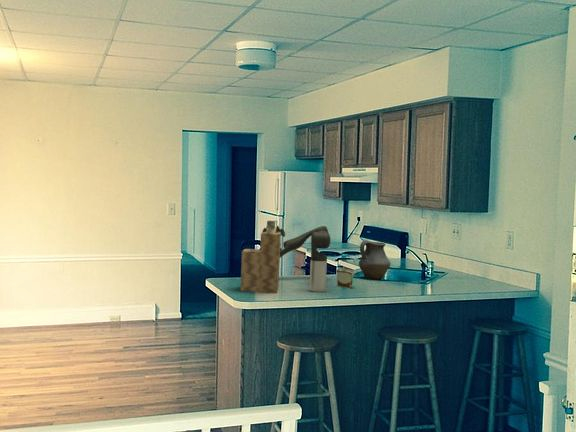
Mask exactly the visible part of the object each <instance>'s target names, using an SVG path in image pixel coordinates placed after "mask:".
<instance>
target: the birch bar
mask: <svg viewBox="0 0 576 432" xmlns="http://www.w3.org/2000/svg"><path fill="white" fill-rule="evenodd" d="M266 226H267V234H275V233H276V232H277V226H278V225H276V220H267V221H266Z"/></svg>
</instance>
